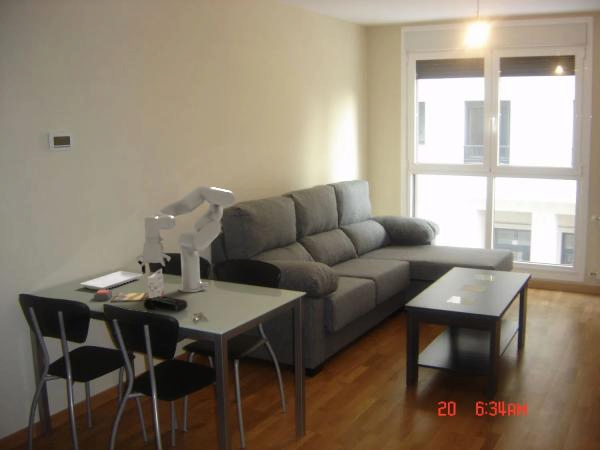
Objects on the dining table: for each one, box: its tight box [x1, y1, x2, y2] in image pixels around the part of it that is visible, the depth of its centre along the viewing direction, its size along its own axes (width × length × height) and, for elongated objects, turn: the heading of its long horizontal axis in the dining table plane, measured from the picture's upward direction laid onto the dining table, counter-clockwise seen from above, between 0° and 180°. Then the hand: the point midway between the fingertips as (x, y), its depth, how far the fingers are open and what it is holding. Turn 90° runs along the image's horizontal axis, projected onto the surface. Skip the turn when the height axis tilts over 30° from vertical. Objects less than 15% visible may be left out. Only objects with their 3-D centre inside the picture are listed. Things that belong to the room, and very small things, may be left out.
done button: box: [96, 289, 110, 295], centre depth 338 cm, size 5×5×2 cm
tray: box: [80, 270, 143, 291], centre depth 367 cm, size 17×32×4 cm, turn 151°
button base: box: [93, 290, 113, 302], centre depth 338 cm, size 7×7×3 cm
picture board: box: [110, 292, 149, 303], centre depth 339 cm, size 17×13×1 cm
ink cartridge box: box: [146, 267, 165, 299], centre depth 338 cm, size 9×5×15 cm, turn 168°
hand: (153, 273), depth 336 cm, fingers open, 9 cm apart
